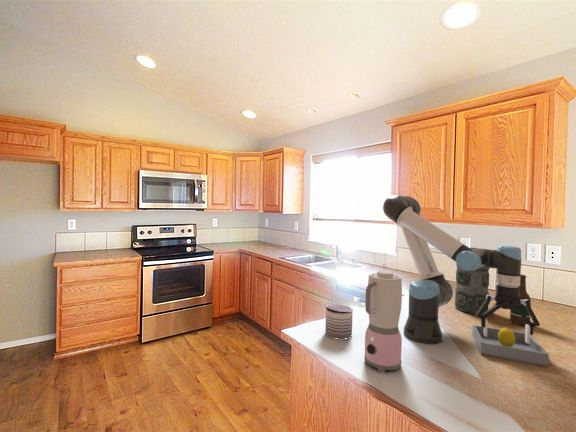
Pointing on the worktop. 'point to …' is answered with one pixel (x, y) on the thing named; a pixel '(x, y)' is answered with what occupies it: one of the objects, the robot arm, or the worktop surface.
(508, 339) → the lemon
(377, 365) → the blender
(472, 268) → the robot arm
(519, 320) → the beer bottle
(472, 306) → the canister
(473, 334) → the box
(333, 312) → the can
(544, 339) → the worktop surface
